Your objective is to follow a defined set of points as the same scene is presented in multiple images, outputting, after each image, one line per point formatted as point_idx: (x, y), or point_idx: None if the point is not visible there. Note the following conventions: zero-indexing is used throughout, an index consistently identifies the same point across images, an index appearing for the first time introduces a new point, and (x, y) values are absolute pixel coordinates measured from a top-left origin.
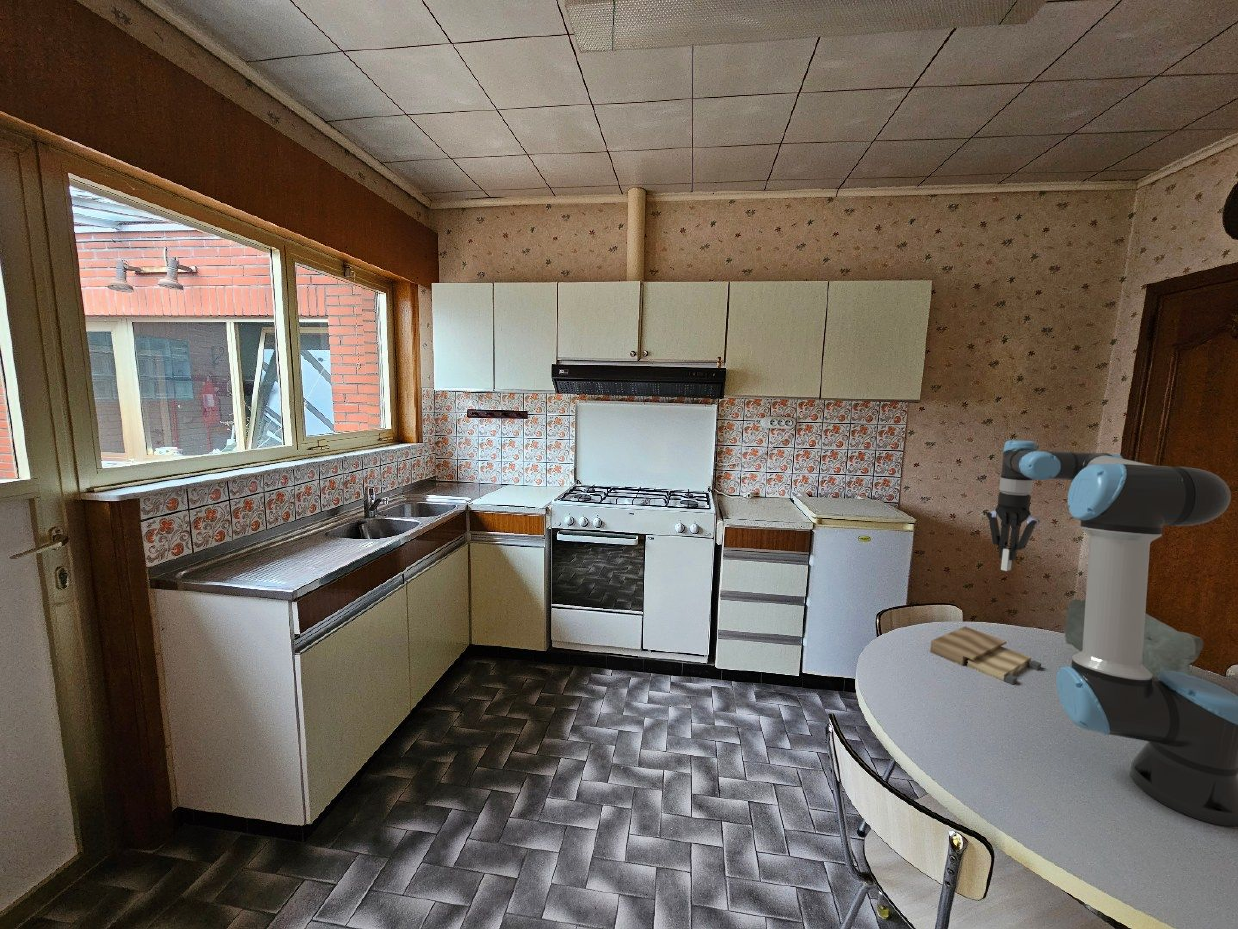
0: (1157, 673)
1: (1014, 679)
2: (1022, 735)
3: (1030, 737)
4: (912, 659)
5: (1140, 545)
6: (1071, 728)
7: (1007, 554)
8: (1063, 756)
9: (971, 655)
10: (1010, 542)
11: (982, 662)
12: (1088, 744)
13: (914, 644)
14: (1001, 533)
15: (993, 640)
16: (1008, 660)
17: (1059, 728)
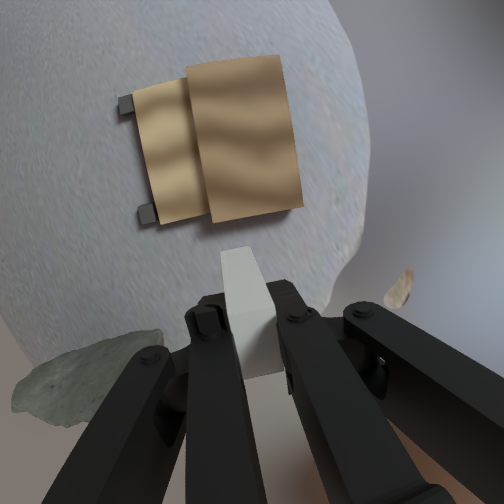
0: (63, 355)
1: (119, 104)
2: (49, 2)
3: (43, 9)
4: (263, 8)
5: None
6: (25, 80)
7: (232, 294)
8: (13, 20)
9: (193, 71)
10: (230, 367)
11: (180, 93)
12: (5, 70)
13: (310, 64)
14: (364, 401)
15: (227, 197)
16: (166, 159)
17: (31, 62)
